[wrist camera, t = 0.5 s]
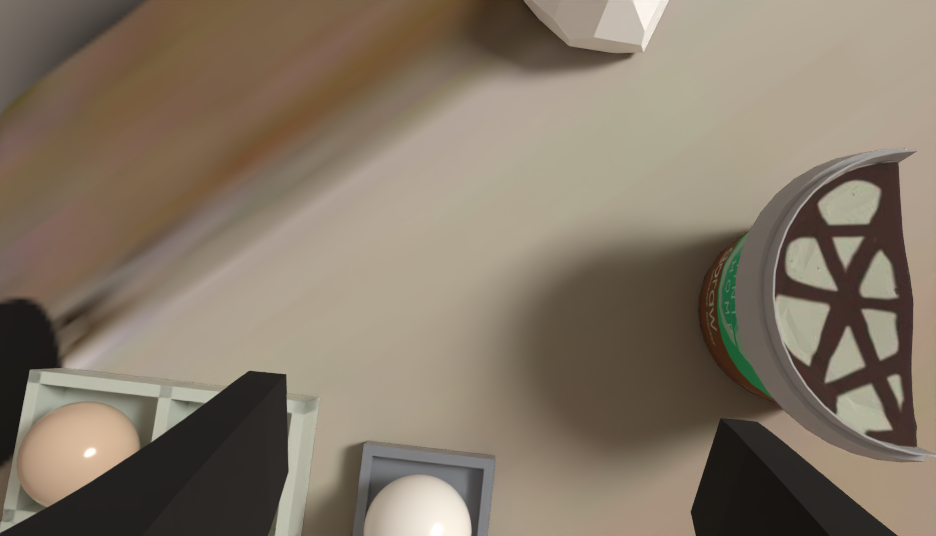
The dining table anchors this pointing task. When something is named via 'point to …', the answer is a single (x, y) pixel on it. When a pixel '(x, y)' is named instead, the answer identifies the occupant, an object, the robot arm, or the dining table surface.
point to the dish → (453, 467)
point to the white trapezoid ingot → (601, 22)
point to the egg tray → (157, 428)
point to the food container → (824, 307)
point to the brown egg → (73, 449)
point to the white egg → (418, 509)
